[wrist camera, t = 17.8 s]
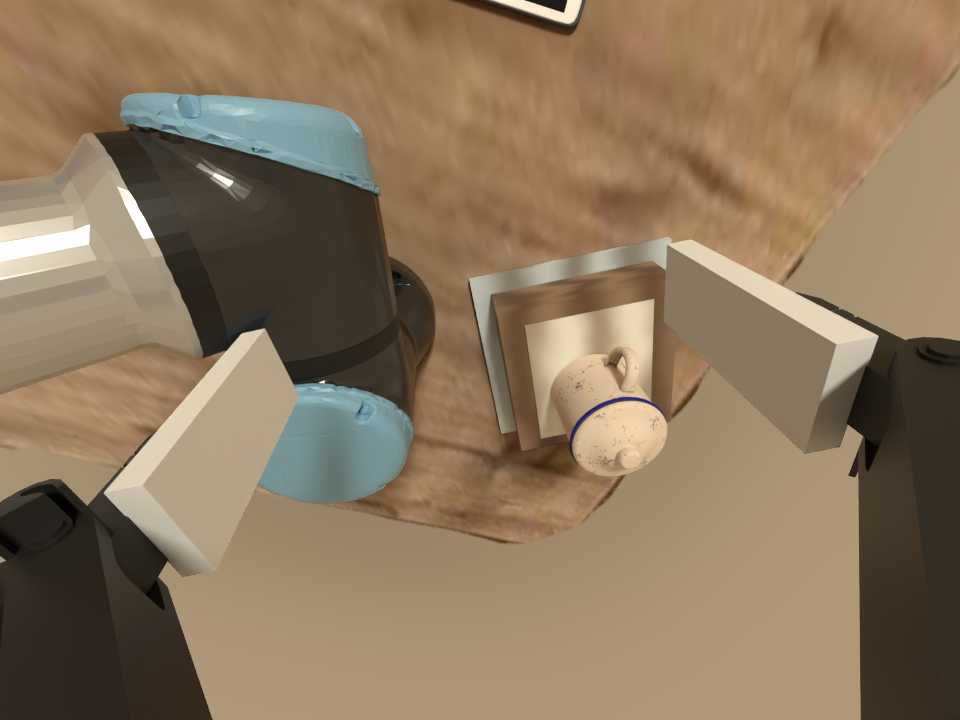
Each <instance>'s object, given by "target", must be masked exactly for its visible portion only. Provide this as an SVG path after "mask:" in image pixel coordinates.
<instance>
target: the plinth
mask: <svg viewBox="0 0 960 720" xmlns="http://www.w3.org/2000/svg"><path fill="white" fill-rule="evenodd" d="M667 244H671V238H669V237H665V238H660V239H656V240H651V241H646V242H641V243H636V244H632V245H627V246H622V247H617V248H612V249H608V250H603V251H598V252H593V253H589V254H584V255H579V256H574V257H569V258H565V259H560V260H555V261H550V262H546V263H541V264H536V265H531V266H526V267H522V268H517V269H512V270H507V271H502V272H498V273H493V274H488V275H483V276H479V277H474V278H469V281H470V286H471V291H472V296H473V300H474V305H475V310H476V315H477V320H478V324H479V329H480V334H481V339H482V344H483V348H484V353H485V358H486V363H487V368H488V372H489V377H490V382H491V387H492V392H493V396H494V401H495V406H496V411H497V415H498V420H499V425H500V430H501V434H503V433H508V432H513V431H517V434H518V438H519V442H520V446H521V450H522V451H524V450H529V449H534V448H539V447H544V446H549V445H554V444H559V443H564V442H569V440H568V437H567V435H566V432H565V430H564V427H563V425H562V422H561V420H560V417H559V415H558V412H557V410H556V407H555V405H554V402H553V398H552V388H553V384H554V381H555V379H556V377H557V376H558V374H559V373H560V372H561V370H562V369H563V368H564V367H565V366H567V365H568V364H569V363H571V362H572V361H574V360H576V359H578V358H580V357H583V356H586V355H592V354H604V355H609V354H610V352H611V351H612V350H613V349H614V348H616V347H628V348H631V349H632V350H634V351H635V353H636V354H637V356H638V358H639V362H640V373H639V378H638V381H637V383H638V384H639V386H640V387H641V388H642V390H643V391H644V392H645V394H646V395H647V396H648V398H649V399H650V401H651V402H652V403H654V404H655V405H656V406H658V407H659V408H660V410H661V411H662V412H663V414H664V416H665V419H666V422H669V421H670V416H671V400H672V385H673V369H674V353H675V338H676V333H675V332H674V331H673V330H672V329H671V328H670V327H669V326H668V325H667V324H666V323H664V300H665V279H666V257H667ZM620 361H621V362H622V363H623V364H624V365H625V366H626V363H625V359H624V357H623V356H622V358H621V359H620Z"/></svg>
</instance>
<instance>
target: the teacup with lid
mask: <svg viewBox="0 0 960 720" xmlns="http://www.w3.org/2000/svg"><path fill="white" fill-rule="evenodd" d="M622 356H623V357H624V359H625V363H626V366H625V365H624V364H623V363H622V362H621V361H620V359H621V358H622ZM639 373H640V362H639V358H638V356H637V354H636V353H635V351H634V350H632V349H631V348H628V347H616V348H614V349H613V350H612V351H611V352H610V354H609V355H604V354H592V355H586V356H583V357H580V358H578V359H576V360H574V361H572V362H571V363H569V364H568V365H567V366H565V367H564V368H563V369H562V370H561V372H560V373H559V374H558V376H557V377H556V379H555V381H554V384H553V388H552V398H553V402H554V405H555V407H556V410H557V412H558V415H559V417H560V420H561V422H562V425H563V427H564V430H565V432H566V435H567V437H568V440H569V442H570V444H569V445H570V451H571V454H572V456H573V458H574V460H575V461H576V462H577V463H578V464H579V465H580V466H581V467H582V468H583V469H585V470H587V471H588V472H591V473H593V474H596V475H600V476H620V475H625V474H628V473H631V472H634V471H636V470H638V469H640V468H642V467H643V466H645V465H647V464H648V463H649V462H650V461H652V460H653V459H654V458H655V457H656V456H657V455H658V453H659V452H660V451H661V449H662V447H663V446H664V443H665V441H666V437H667V423H666V419H665V416H664V414H663V412H662V411H661V410H660V408H659V407H658V406H656V405H655V404H654V403H652V402H651V401H650V399H649V398H648V396H647V395H646V394H645V392H644V391H643V390H642V388H641V387H640V386H639V384H638V383H637V381H638V378H639Z"/></svg>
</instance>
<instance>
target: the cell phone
mask: <svg viewBox="0 0 960 720" xmlns="http://www.w3.org/2000/svg"><path fill="white" fill-rule="evenodd" d="M478 1H482V2H485V3H488V4H491V5H494V6H497V7H500V8H503V9H505V8H508V9H511V10H514V11H517V13H519V14H522V15H525V16H528V17H531V18H535V19H538V20H541V21H544V22H547V23H550V24H554V25H557V26H560V27H566V28H571V27H574V26H575V25H576V24H577V23H578V21H579V19H580V17H581V14H582V11H583V8H584V4H585V0H478Z"/></svg>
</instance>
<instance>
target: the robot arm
mask: <svg viewBox="0 0 960 720" xmlns="http://www.w3.org/2000/svg"><path fill="white" fill-rule="evenodd" d="M121 111H122V112H121V114H120V119H121V121H122V124H123V125H125V126H127V127H128V128H129V130H126V131H116V132H103V133H88V134H83V135H82V136H81V138H80V139H79V141H78V143H77V144H76V146H75V148H74V149H73V151H72V153H71V154H70V156H69V157H68V159H67V161H66V162H65V164H64V166H63V167H62V168H60V169H59V170H58V171H57V172H55V173H54V174H53V175H51V176H42V177H33V178H25V179H16V180H7V181H0V394H3V393H6V392H9V391H12V390H15V389H18V388H21V387H25V386H28V385H31V384H34V383H37V382H40V381H43V380H46V379H49V378H52V377H56V376H59V375H62V374H65V373H68V372H71V371H74V370H77V369H80V368H84V367H87V366H90V365H93V364H96V363H99V362H102V361H105V360H108V359H111V358H115V357H118V356H121V355H124V354H127V353H130V352H133V351H136V350H139V349H143V348H152V349H160V350H163V351H166V352H169V353H172V354H176V355H179V356H182V357H185V358H188V359H191V360H195V361H197V360H200V359H203V358H205V357H208V356H211V355H214V354H217V353H220V352H222V351H226V352H225V353H224V355H223V356H222V357H221V358H220V359H219V360H218V362H217V363H216V364H215V365H214V366H213V367H212V368H211V370H210V371H209V372H208V373H207V374H206V375H205V376H204V378H203V379H202V380H201V381H200V382H199V383H198V385H197V386H196V387H195V388H194V389H193V390H192V391H191V393H190V394H189V395H188V396H187V397H186V398H185V400H184V401H183V402H182V403H181V404H180V405H179V406H178V408H177V409H176V410H175V411H174V412H173V413H172V414H171V416H170V417H169V418H168V419H167V420H166V421H165V423H164V424H163V425H162V426H161V427H160V428H159V429H158V430H157V431H156V432H154V433H153V434H152V435H150V436H149V437H148V438H147V439H146V440H145V441H144V442H143V443H142V444H141V446H140V447H139V448H138V449H137V450H136V451H135V452H134V453H135V455H133V456H131V457H130V458H129V459H128V460H127V462H126V463H125V464H124V465H123V466H124V468H120V469H119V471H118V472H117V473H116V474H115V475H114V476H113V478H112V479H111V480H110V481H109V482H108V483H107V484H106V485H105V487H104V488H103V489H102V490H101V491H100V492H99V493H98V494H97V496H96V497H95V498H94V499H93V500H92V501H91V502H90V504H89V505H88V506H87V505H86V504H85V503H83V501H82V500H80V499H79V497H78V496H77V495H75V493H73V492H72V490H71V489H70V488H69V487H68V486H67V485H66V484H65V483H64V482H62V481H61V479H50V480H46V481H43V482H39V483H36V484H33V485H31V486H29V487H27V488H24V489H22V490H20V491H18V492H16V493H15V494H13V495H11V496H10V497H8V498H6V499H4V500H3V501H1V502H0V556H1V557H2V558H4V559H5V560H6V561H5V562H2V563H0V720H212V717H211V714H210V711H209V708H208V705H207V702H206V699H205V697H204V693H203V690H202V688H201V684H200V682H199V679H198V676H197V673H196V670H195V667H194V664H193V661H192V658H191V655H190V652H189V649H188V646H187V643H186V640H185V637H184V634H183V631H182V628H181V626H180V622H179V620H178V617H177V614H176V611H175V608H174V605H173V602H172V599H171V596H170V593H169V590H168V587H167V586H166V585H165V584H164V583H163V581H161V579H159V577H158V576H159V574H160V572H161V571H162V569H163V568H164V566H165V564H166V563H167V561H168V562H169V563H170V564H171V565H172V566H173V567H174V568H175V569H176V570H177V571H178V572H179V573H180V574H181V576H182V577H185V576H190V575H195V574H200V573H205V572H210V571H215V570H216V569H217V567H218V565H219V563H220V561H221V559H222V557H223V555H224V553H225V551H226V549H227V546H228V544H229V542H230V540H231V538H232V536H233V534H234V532H235V530H236V528H237V526H238V523H239V521H240V519H241V517H242V515H243V513H244V511H245V509H246V507H247V505H248V503H249V500H250V498H251V496H252V494H253V492H254V490H255V488H256V486H257V485H258V486H260V487H262V488H263V489H265V490H268V491H270V492H272V493H274V494H276V495H282V496H286V497H288V498H290V499H293V500H296V501H301V502H307V503H318V504H333V503H344V502H350V501H354V500H358V499H362V498H365V497H367V496H370V495H372V494H374V493H376V492H378V491H380V490H381V489H383V488H384V487H385V486H386V485H387V483H389V482H391V481H392V480H394V479H395V478H396V477H397V476H398V475H399V473H400V472H401V471H402V469H403V467H404V465H405V463H406V460H407V457H408V452H409V446H410V444H411V443H412V440H413V435H414V430H413V425H412V416H413V403H414V390H415V376H416V368H417V367H418V366H419V365H420V364H421V362H422V361H423V360H424V359H425V357H426V356H427V354H428V352H429V350H430V348H431V346H432V343H433V339H434V335H435V308H434V304H433V301H432V298H431V295H430V293H429V291H428V289H427V288H426V286H425V285H424V283H423V282H422V280H421V279H420V278H419V277H418V276H417V275H416V274H415V273H414V272H413V271H412V270H411V269H410V268H408V267H407V266H406V265H404V264H403V263H401V262H399V261H397V260H396V259H394V258H391V257H389V256H388V251H387V245H386V239H385V234H384V228H383V222H382V217H381V211H380V205H379V200H378V196H381V195H380V189H379V187H378V186H377V185H376V184H375V181H374V177H373V172H372V167H371V163H370V158H369V154H368V149H367V145H366V141H365V138H364V135H363V133H362V131H361V129H360V128H359V126H358V125H357V124H356V123H355V122H354V121H353V120H352V119H351V118H350V117H348V116H347V115H345V114H344V113H342V112H339V111H337V110H334V109H331V108H327V107H322V106H317V105H311V104H303V103H297V102H289V101H281V100H271V99H262V98H250V97H238V96H223V95H202V96H199V97H198V96H195V95H177V94H170V93H136V94H131V95H128V96H125V97H124V99H123V100H122V102H121ZM664 323H666V324H667V325H668V326H669V327H670V328H671V329H672V330H673V331H674V332H675V333H676V334H677V335H678V336H679V337H680V338H682V339H683V340H684V341H685V342H686V343H687V344H688V345H689V346H690V347H691V348H692V349H693V350H694V351H695V352H696V353H698V354H699V355H700V356H701V357H702V358H703V359H704V360H705V361H706V362H707V363H708V364H709V365H710V366H711V367H712V368H714V369H715V370H716V371H717V372H718V373H719V374H720V375H721V376H722V377H723V378H724V379H725V380H726V381H727V382H728V383H730V384H731V385H732V386H733V387H734V388H735V389H736V390H737V391H738V392H739V393H741V395H742V396H743V397H744V398H746V399H747V400H748V401H749V402H750V403H751V404H752V405H753V406H754V407H755V408H756V409H757V410H758V411H759V412H760V413H762V414H763V415H764V416H765V417H766V418H767V419H768V420H769V421H770V422H771V423H772V424H773V425H774V426H775V427H777V428H778V429H779V430H780V431H781V432H782V433H783V434H784V435H785V436H786V437H787V438H788V439H789V440H790V441H791V442H792V443H794V444H795V445H796V446H797V447H798V448H799V449H800V450H801V451H802V452H803V453H804V454H806V453H811V452H817V451H822V450H826V449H832V448H836V447H840V445H841V442H842V439H843V437H844V434H845V431H846V428H847V425H850V426H851V427H852V428H854V429H855V430H856V431H857V432H859V433H860V434H861V435H862V436H863V439H862V442H861V444H860V447H859V449H858V452H857V455H856V457H855V460H854V462H853V465H852V468H851V470H850V473H849V476H852V477H856V475H857V473H859V474H858V475H859V476H858V478H859V574H860V575H859V584H860V683H861V684H860V686H861V720H960V341H957V340H950V339H944V338H929V337H928V338H927V337H921V338H913V339H908V340H904V339H902V338H900V337H898V336H896V335H894V334H892V333H889V332H888V331H885V330H883V329H881V328H879V327H877V326H875V325H873V324H871V323H869V322H867V321H865V320H863V319H861V318H859V317H854V315H853V314H851V313H849V312H847V311H845V310H843V309H841V310H839V307H837V306H835V305H833V304H831V303H828V302H827V301H824V300H823V299H821V298H817V297H813V296H809V295H805V294H801V293H797V292H796V293H794V292H792V291H790V290H788V289H786V288H784V287H782V286H780V285H779V284H777V283H775V282H773V281H771V280H769V279H767V278H765V277H763V276H761V275H759V274H757V273H755V272H753V271H751V270H749V269H747V268H745V267H743V266H742V265H740V264H738V263H736V262H734V261H732V260H730V259H728V258H726V257H724V256H722V255H720V254H718V253H716V252H714V251H712V250H710V249H708V248H706V247H705V246H703V245H701V244H699V243H697V242H695V241H693V240H686V241H682V242H677V243H672V244H667V257H666V279H665V300H664Z"/></svg>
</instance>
